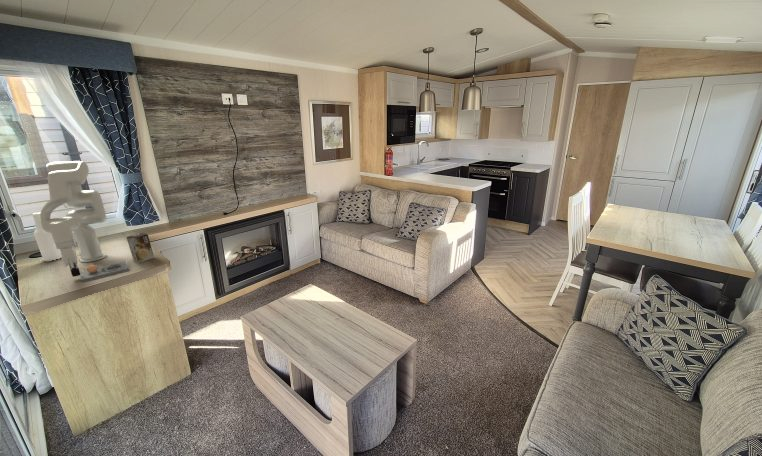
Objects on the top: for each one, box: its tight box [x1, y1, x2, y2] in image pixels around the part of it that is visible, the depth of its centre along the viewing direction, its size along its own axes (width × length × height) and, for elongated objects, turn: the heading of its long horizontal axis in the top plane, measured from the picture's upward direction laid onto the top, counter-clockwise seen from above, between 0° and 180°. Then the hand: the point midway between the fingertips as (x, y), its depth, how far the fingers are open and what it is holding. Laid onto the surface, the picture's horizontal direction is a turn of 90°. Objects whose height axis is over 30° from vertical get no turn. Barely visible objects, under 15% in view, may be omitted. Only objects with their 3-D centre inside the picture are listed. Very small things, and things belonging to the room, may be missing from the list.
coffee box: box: [126, 232, 155, 264], centre depth 193 cm, size 9×6×16 cm
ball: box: [86, 264, 98, 273], centre depth 174 cm, size 4×4×4 cm
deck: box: [80, 260, 130, 283], centre depth 179 cm, size 20×14×2 cm
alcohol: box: [32, 211, 62, 262], centre depth 193 cm, size 9×9×30 cm
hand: (76, 275), depth 171 cm, fingers closed
